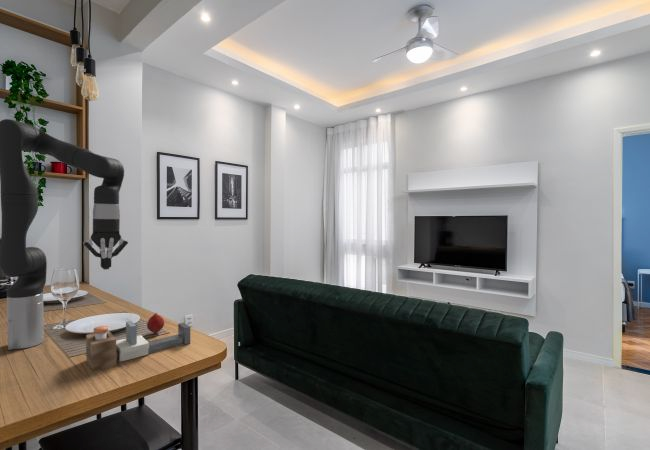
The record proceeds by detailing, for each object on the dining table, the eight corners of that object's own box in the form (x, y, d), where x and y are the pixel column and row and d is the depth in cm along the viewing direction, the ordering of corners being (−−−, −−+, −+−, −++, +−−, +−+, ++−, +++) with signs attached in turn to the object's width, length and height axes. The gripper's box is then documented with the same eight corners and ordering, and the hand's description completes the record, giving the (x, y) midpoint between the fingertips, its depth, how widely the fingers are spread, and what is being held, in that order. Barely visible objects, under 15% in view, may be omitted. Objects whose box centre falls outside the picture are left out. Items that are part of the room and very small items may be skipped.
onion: (143, 334, 125) (143, 313, 125) (157, 329, 130) (157, 309, 130) (153, 337, 122) (153, 316, 122) (167, 332, 128) (167, 311, 127)
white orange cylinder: (95, 357, 99) (94, 330, 99) (92, 353, 102) (92, 327, 101) (109, 353, 102) (109, 328, 101) (106, 350, 104) (106, 325, 104)
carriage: (120, 362, 101) (120, 330, 101) (113, 353, 108) (113, 322, 107) (149, 355, 107) (149, 324, 106) (141, 346, 113) (140, 317, 113)
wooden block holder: (92, 371, 96) (92, 344, 96) (86, 360, 103) (86, 334, 103) (116, 365, 100) (116, 339, 100) (109, 354, 107) (108, 330, 107)
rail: (114, 363, 102) (114, 343, 101) (110, 356, 106) (110, 338, 106) (190, 343, 117) (190, 326, 117) (183, 338, 122) (183, 322, 122)
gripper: (126, 217, 118) (125, 265, 119) (80, 216, 109) (80, 269, 110) (131, 218, 113) (130, 269, 113) (83, 217, 104) (83, 272, 105)
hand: (105, 269), depth 112 cm, fingers closed
